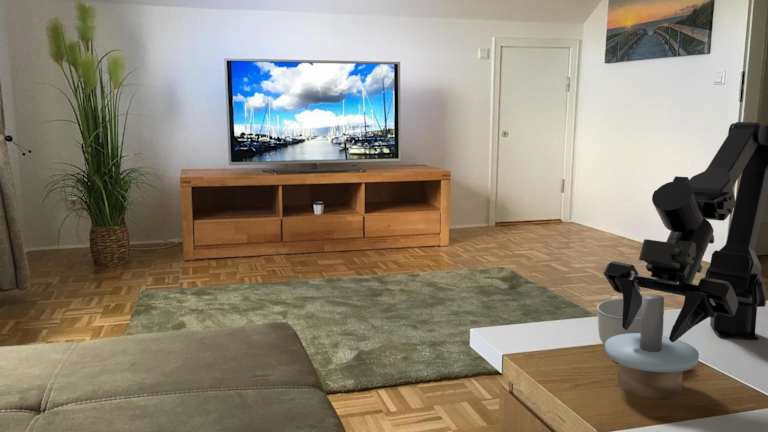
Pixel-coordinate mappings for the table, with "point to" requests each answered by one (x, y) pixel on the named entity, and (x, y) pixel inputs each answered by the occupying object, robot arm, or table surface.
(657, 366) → the lid
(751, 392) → the table surface
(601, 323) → the teacup
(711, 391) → the table surface
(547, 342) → the table surface
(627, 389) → the stone
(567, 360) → the table surface
